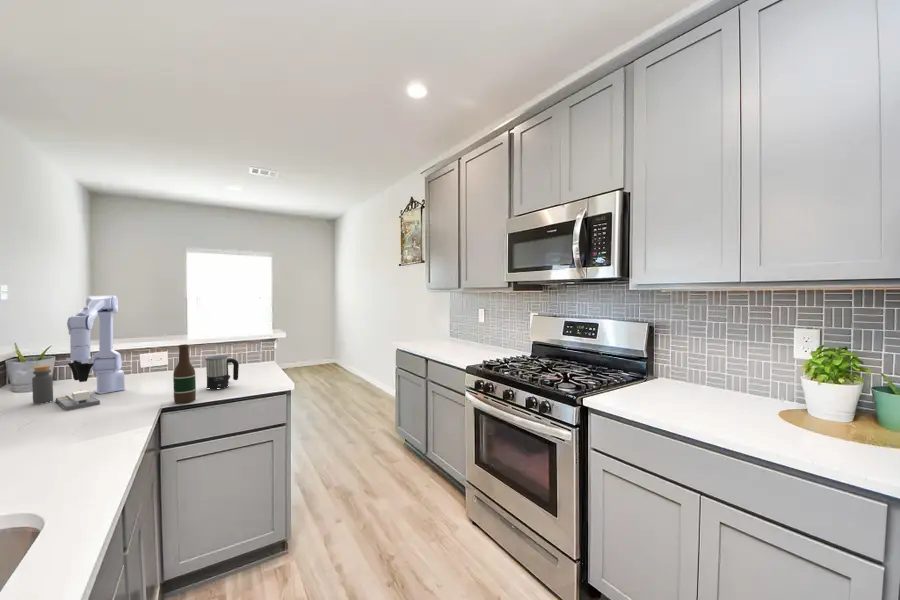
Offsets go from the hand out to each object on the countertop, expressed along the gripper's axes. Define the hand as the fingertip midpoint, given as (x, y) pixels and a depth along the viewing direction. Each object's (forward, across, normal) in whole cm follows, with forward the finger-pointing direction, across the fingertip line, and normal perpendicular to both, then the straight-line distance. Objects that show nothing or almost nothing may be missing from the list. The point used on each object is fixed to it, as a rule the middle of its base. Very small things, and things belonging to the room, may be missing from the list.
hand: (80, 380), depth 154 cm
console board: (+10, -13, +2) cm, 17 cm away
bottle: (+10, -26, -7) cm, 29 cm away
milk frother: (+10, +4, +49) cm, 50 cm away
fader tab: (+9, -7, +1) cm, 12 cm away
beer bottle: (+12, +19, +29) cm, 37 cm away
